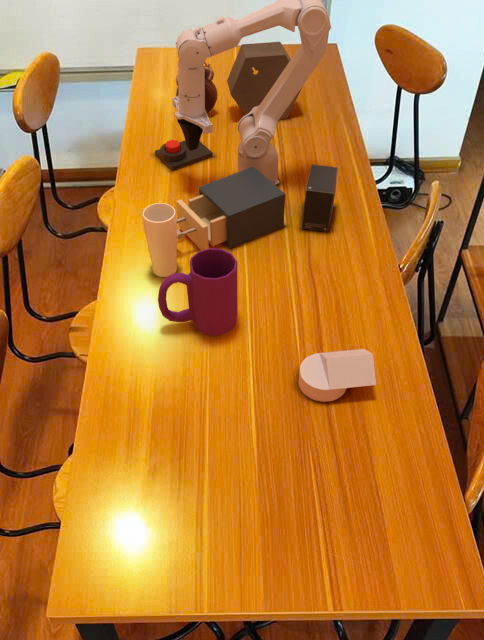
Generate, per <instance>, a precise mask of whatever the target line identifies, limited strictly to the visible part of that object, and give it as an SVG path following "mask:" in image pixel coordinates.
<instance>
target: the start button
mask: <svg viewBox="0 0 484 640" xmlns="http://www.w3.org/2000/svg"><path fill="white" fill-rule="evenodd" d="M179 142H180V141H178V140H176V139H170V140H167V141H166V142H165V143H166V144H165V143H164V144H165V145H166V152H168V153H177V152H179V151H180V143H179Z"/></svg>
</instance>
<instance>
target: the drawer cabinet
mask: <svg viewBox="0 0 484 640" xmlns="http://www.w3.org/2000/svg"><path fill="white" fill-rule="evenodd" d="M202 194H203V195H204V196H205V197H206V198H207V199H208V200H209V201H210V202H211V203H212V204H213V205H215V206H216V207H217V208H218V209H219V210H220V211H221V212H222V213H223V214H224V215H225V216H226V217H227V241H224V242H222V243H223V244H224V245H225V246H226V248H228V249H229V250H230V249H233V248H234V247H237V246H239V245H242V244H244V243H247V242H249V241H252V240H254V239H256V238H259V237H262V236H264V235H267V234H269V233H271V232H273V231H276V230H279V229H281V228H283V227H284V225H285V208H286V192H284V191H283V190H282V189H281V188H280V187H278V186H277V184H276V185H275V184H274V183H272V182H271V181H270V180H269V179H268V178H266V177H265V176H264V175H263V174H262V173H260V172H259V171H258V170H257V169H256V168H255V167H251V168H248V169H246V170H243V171H240V172H238V171H237V172H234V173H231V174H230V175H227V176H224V177H221V178H219V179H216V180H213V181H211V182H207V183H205V184H203V185H199V186H198V196H200V195H202Z"/></svg>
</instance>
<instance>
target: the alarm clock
mask: <svg viewBox="0 0 484 640" xmlns="http://www.w3.org/2000/svg"><path fill="white" fill-rule="evenodd" d="M204 70H205V110H206V113H207V115H208V116H211V115H212V114H211V113H210V112H211V111H212V110H213V109H214V107H215V106H216V104H217V101H218V89H217V87H216V85H215V83H214V82H213V80H214V76H215V72H214V70H213V67H211V64H210V63H208V64H207V63H206V61H205V62H204ZM175 77H176V78H175V83H176V86H177V88H176V93H175V95H176V96H175V97H177V96H179V89H178V74H177V75H176V76H175Z"/></svg>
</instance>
